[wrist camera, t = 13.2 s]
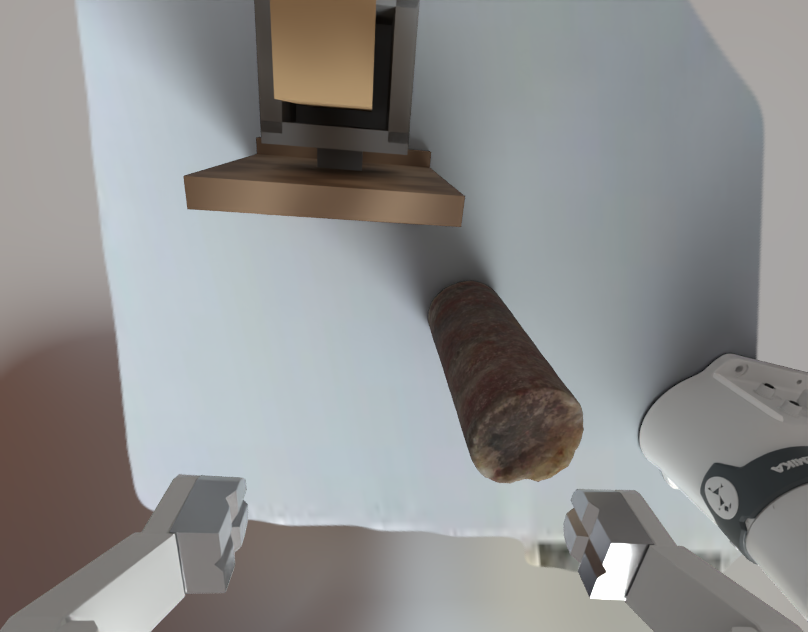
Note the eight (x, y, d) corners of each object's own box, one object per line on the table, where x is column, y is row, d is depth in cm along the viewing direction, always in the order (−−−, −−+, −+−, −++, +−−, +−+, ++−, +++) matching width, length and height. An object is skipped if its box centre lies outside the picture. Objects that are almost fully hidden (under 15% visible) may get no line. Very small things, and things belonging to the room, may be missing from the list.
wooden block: (371, 111, 29) (372, 106, 18) (311, 106, 29) (274, 98, 18) (374, 41, 27) (376, -10, 16) (310, 35, 27) (268, -22, 16)
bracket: (441, 30, 33) (496, -42, 18) (422, 221, 39) (453, 283, 24) (253, 9, 32) (151, -86, 17) (263, 211, 38) (194, 269, 23)
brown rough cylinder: (442, 265, 41) (499, 381, 23) (512, 285, 42) (618, 410, 24) (416, 334, 44) (449, 486, 26) (483, 351, 45) (558, 507, 27)
